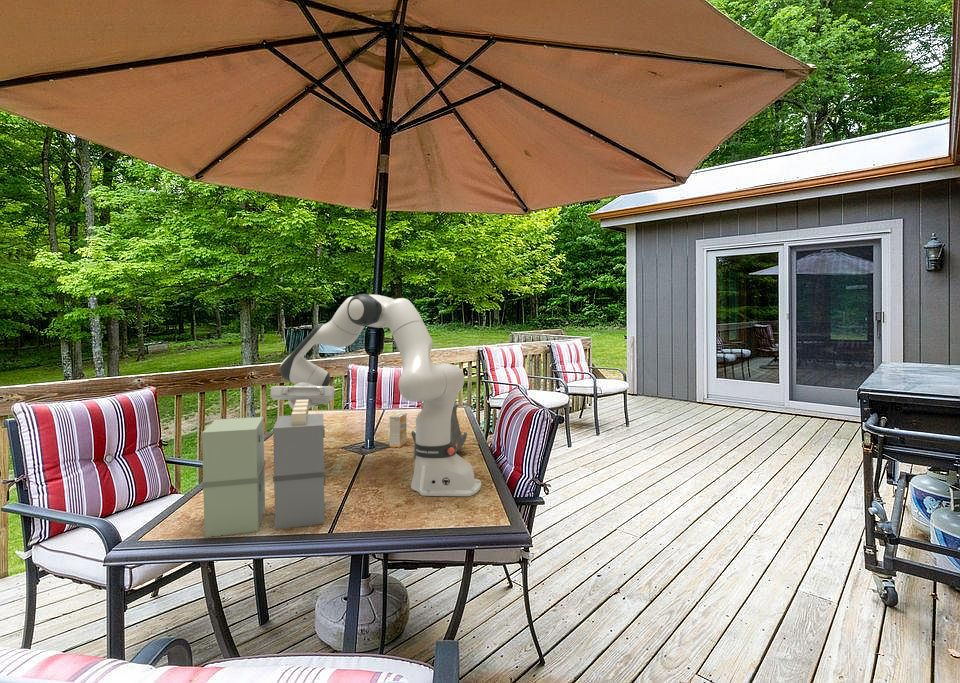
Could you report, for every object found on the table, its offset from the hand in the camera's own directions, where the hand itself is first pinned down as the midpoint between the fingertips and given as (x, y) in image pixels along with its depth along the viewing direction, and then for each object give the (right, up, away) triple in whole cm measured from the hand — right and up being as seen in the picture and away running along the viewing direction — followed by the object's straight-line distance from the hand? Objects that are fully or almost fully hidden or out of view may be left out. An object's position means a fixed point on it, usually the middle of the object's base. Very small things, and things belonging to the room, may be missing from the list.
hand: (303, 388), depth 161 cm
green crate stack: (-7, -32, -30) cm, 45 cm away
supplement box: (+23, -29, +48) cm, 60 cm away
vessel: (+41, -29, +37) cm, 62 cm away
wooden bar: (+7, -6, -22) cm, 23 cm away
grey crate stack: (+8, -32, -25) cm, 42 cm away
